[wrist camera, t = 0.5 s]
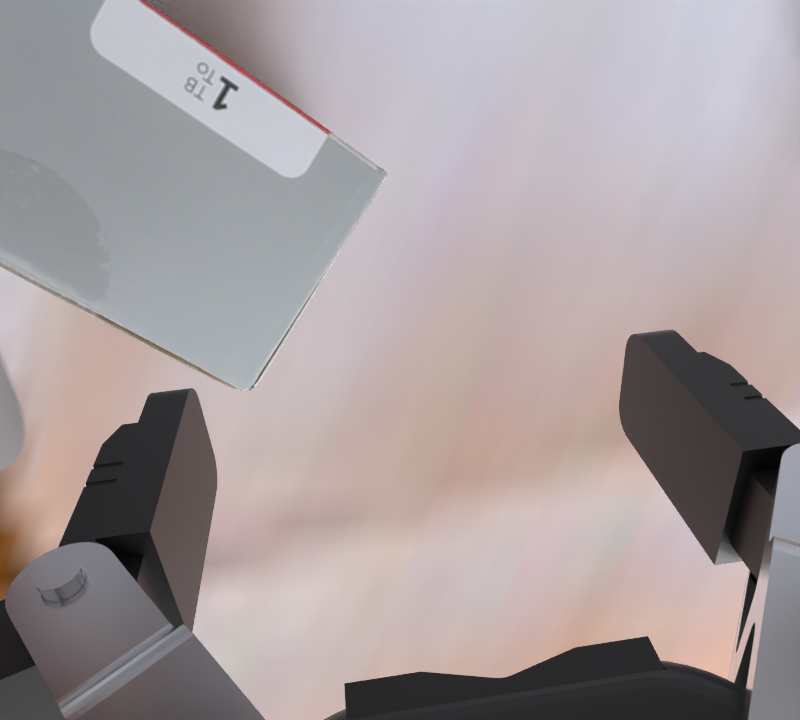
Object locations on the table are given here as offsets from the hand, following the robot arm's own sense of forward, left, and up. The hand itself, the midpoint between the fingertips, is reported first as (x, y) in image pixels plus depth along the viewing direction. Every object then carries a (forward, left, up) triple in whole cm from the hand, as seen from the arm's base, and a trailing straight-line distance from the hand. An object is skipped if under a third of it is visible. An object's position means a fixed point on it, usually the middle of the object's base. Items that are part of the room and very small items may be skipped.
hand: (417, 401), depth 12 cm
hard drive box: (-6, -6, -27) cm, 28 cm away
